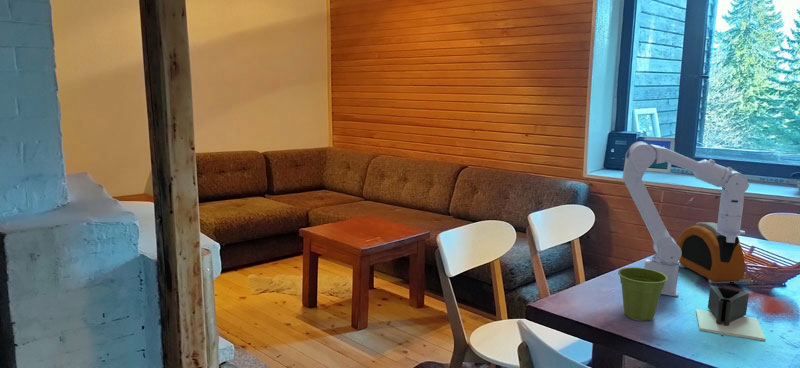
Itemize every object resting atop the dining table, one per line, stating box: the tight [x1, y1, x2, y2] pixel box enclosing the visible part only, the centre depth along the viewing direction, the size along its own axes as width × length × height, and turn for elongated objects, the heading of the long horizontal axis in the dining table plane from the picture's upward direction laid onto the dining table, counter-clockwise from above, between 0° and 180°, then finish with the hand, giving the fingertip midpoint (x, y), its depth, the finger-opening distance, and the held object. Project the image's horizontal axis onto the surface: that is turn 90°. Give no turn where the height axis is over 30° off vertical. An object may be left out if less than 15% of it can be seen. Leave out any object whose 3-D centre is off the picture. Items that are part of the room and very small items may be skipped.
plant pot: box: [617, 266, 668, 322], centre depth 154 cm, size 12×12×11 cm
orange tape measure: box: [675, 221, 746, 284], centre depth 190 cm, size 23×9×17 cm, turn 6°
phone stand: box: [707, 285, 750, 326], centre depth 154 cm, size 9×6×12 cm
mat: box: [695, 308, 766, 342], centre depth 151 cm, size 14×14×1 cm
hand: (724, 261), depth 169 cm, fingers closed
